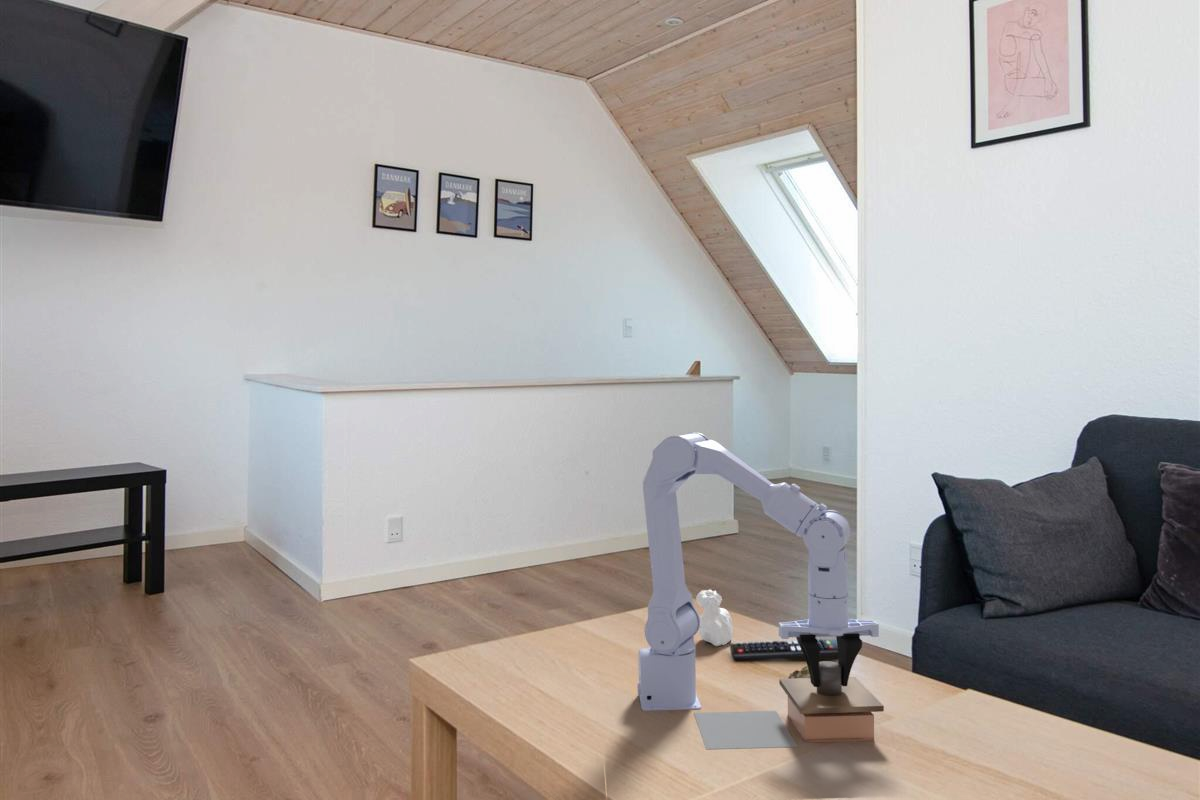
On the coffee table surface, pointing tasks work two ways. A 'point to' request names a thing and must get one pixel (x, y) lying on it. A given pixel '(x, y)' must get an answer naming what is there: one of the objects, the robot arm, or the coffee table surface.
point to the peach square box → (832, 725)
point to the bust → (714, 619)
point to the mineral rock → (800, 673)
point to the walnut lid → (830, 693)
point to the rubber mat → (743, 730)
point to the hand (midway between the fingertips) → (828, 684)
